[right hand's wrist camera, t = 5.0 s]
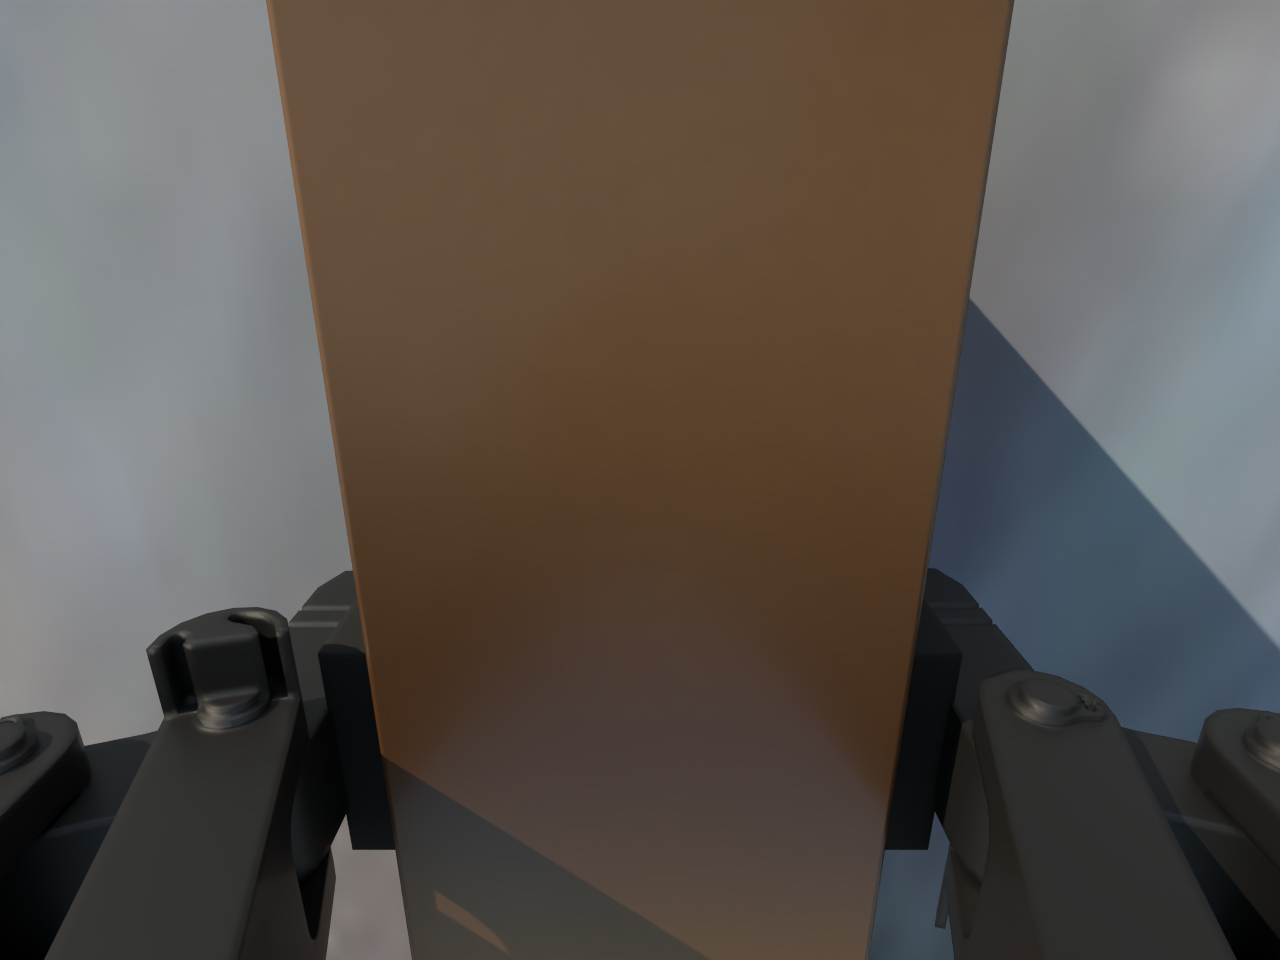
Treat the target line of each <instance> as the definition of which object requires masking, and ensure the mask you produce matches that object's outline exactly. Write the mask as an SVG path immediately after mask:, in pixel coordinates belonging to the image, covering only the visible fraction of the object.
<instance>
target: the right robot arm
mask: <svg viewBox="0 0 1280 960" xmlns="http://www.w3.org/2000/svg"><path fill="white" fill-rule="evenodd" d="M146 651H147V655H148V659H149V662H150V666H151V670H152V673H153V677H154V681H155V684H156V688H157V692H158V695H159V699H160V703H161V706H162V710H163V713H164V719H163V721H162V723H161V725H160V727H159V729H158V731H155V732H151V733H147V734H143V735H138V736H133V737H128V738H123V739H118V740H113V741H108V742H103V743H98V744H93V745H88V746H84V744H83V741H82V738H81V735H80V732H79V729H78V726H77V723H76V722H75V721H74V720H72V719H71V718H70V717H68V716H67V715H66V714H62V713H54V712H46V711H42V712H34V713H26V714H16V715H11V716H7V717H2V718H1V719H0V960H326V953H327V945H328V937H329V929H330V921H331V913H332V905H333V897H334V889H335V881H336V875H335V868H334V861H333V856H332V851H331V844H332V842H333V840H334V838H335V836H336V834H337V832H338V830H339V827H340V825H341V823H342V821H343V819H344V817H345V815H347V821H348V826H349V832H350V838H351V843H352V849H353V850H395V844H394V837H393V830H392V824H391V817H390V811H389V804H388V798H387V791H386V784H385V778H384V771H383V765H382V758H381V752H380V745H379V738H378V732H377V725H376V719H375V712H374V706H373V699H372V692H371V686H370V679H369V673H368V666H367V660H366V653H365V646H364V640H363V633H362V627H361V620H360V614H359V607H358V600H357V594H356V587H355V581H354V574H353V571H345V572H343V573H341V574H340V575H338V576H336V577H335V578H333V579H331V580H330V581H328V582H327V583H325V584H323V585H322V586H320V587H318V588H317V590H316V591H315V592H314V593H313V594H312V596H311V597H310V598H309V599H308V600H307V602H306V603H305V604H304V605H303V606H302V611H298V613H297V614H296V615H295V616H294V617H293V619H292V620H291V621H290V622H289V627H288V621H287V619H286V618H285V617H284V616H282V615H281V614H280V613H278V612H277V611H274V610H269V609H264V608H259V607H249V608H231V609H226V610H221V611H217V612H212V613H207V614H204V615H201V616H199V617H196V618H193V619H191V620H188V621H185V622H182V623H180V624H179V625H177V626H175V627H173V628H172V629H170V630H168V631H167V632H165V633H163V634H161V635H160V636H159V637H158V638H157V639H156V640H155V641H154V642H153V643H152V644H151V645H150V646H149V647H148V648H147V649H146ZM934 812H936V814H937V816H938V818H939V821H940V823H941V825H942V827H943V829H944V831H945V833H946V835H947V837H948V839H949V841H950V845H949V850H948V856H947V861H946V866H945V871H944V877H943V882H942V887H941V892H940V897H939V903H938V908H937V914H936V921H935V927H939V928H943V929H945V926H946V921H947V916H948V913H949V919H950V927H951V935H952V943H953V951H954V959H955V960H1280V714H1277V713H1273V712H1268V711H1259V710H1251V709H1243V708H1233V709H1225V710H1217V711H1216V712H1214V713H1213V714H1211V715H1210V716H1209V717H1207V718H1206V719H1205V722H1204V725H1203V728H1202V731H1201V734H1200V737H1199V740H1198V743H1195V742H1190V741H1185V740H1180V739H1175V738H1170V737H1165V736H1159V735H1154V734H1149V733H1144V732H1139V731H1135V730H1131V729H1127V728H1123V727H1121V726H1120V724H1119V722H1118V720H1117V718H1116V716H1115V715H1114V714H1113V712H1112V711H1111V710H1110V709H1109V708H1108V706H1107V705H1106V704H1105V703H1104V701H1103V700H1101V699H1100V698H1098V697H1097V696H1095V695H1094V694H1092V693H1091V692H1090V691H1088V690H1087V689H1085V688H1084V687H1082V686H1080V685H1077V684H1075V683H1073V682H1070V681H1068V680H1066V679H1063V678H1061V677H1059V676H1055V675H1050V674H1046V673H1042V672H1038V671H1034V670H1033V668H1032V667H1031V666H1030V665H1029V664H1028V662H1027V661H1026V660H1025V659H1024V658H1023V656H1022V655H1021V654H1020V653H1019V652H1018V651H1017V649H1016V648H1015V647H1014V646H1013V645H1012V643H1011V642H1010V641H1009V640H1008V639H1007V637H1006V636H1005V635H1004V634H1003V633H1002V631H1001V630H1000V629H999V628H998V627H997V625H996V624H992V619H991V618H990V617H989V616H988V615H987V614H986V612H985V611H984V610H983V609H982V608H979V604H978V603H977V602H976V600H975V599H974V598H973V597H972V596H971V594H970V593H969V592H968V591H967V590H966V588H965V587H964V586H963V585H962V584H960V583H958V582H957V581H955V580H953V579H952V578H950V577H948V576H947V575H945V574H943V573H942V572H940V571H939V570H937V569H927V576H926V583H925V589H924V596H923V602H922V609H921V615H920V622H919V629H918V635H917V642H916V648H915V655H914V661H913V668H912V674H911V681H910V688H909V694H908V701H907V707H906V714H905V720H904V727H903V733H902V740H901V747H900V753H899V760H898V766H897V773H896V779H895V786H894V793H893V799H892V806H891V812H890V819H889V825H888V832H887V838H886V845H885V850H928V846H929V840H930V835H931V829H932V823H933V818H934Z"/></svg>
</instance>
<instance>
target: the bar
mask: <svg viewBox="0 0 1280 960" xmlns="http://www.w3.org/2000/svg"><path fill="white" fill-rule="evenodd" d="M266 2H267V9H268V15H269V22H270V29H271V35H272V42H273V48H274V55H275V61H276V68H277V75H278V81H279V88H280V94H281V101H282V107H283V114H284V121H285V127H286V134H287V140H288V147H289V153H290V160H291V167H292V173H293V180H294V186H295V193H296V199H297V206H298V213H299V219H300V226H301V232H302V239H303V245H304V252H305V259H306V265H307V272H308V278H309V285H310V291H311V298H312V305H313V311H314V318H315V324H316V331H317V337H318V344H319V351H320V357H321V364H322V370H323V377H324V383H325V390H326V397H327V403H328V410H329V416H330V423H331V430H332V436H333V443H334V449H335V456H336V462H337V469H338V476H339V482H340V489H341V495H342V502H343V508H344V515H345V522H346V528H347V535H348V541H349V548H350V554H351V561H352V568H353V574H354V581H355V587H356V594H357V600H358V607H359V614H360V620H361V627H362V633H363V640H364V646H365V653H366V660H367V666H368V673H369V679H370V686H371V692H372V699H373V706H374V712H375V719H376V725H377V732H378V738H379V745H380V752H381V758H382V765H383V771H384V778H385V784H386V791H387V798H388V804H389V811H390V817H391V824H392V830H393V837H394V844H395V850H396V857H397V863H398V870H399V876H400V883H401V890H402V896H403V903H404V909H405V916H406V922H407V929H408V936H409V942H410V949H411V955H412V960H868V957H869V950H870V943H871V937H872V930H873V924H874V917H875V911H876V904H877V897H878V891H879V884H880V878H881V871H882V865H883V858H884V852H885V845H886V838H887V832H888V825H889V819H890V812H891V806H892V799H893V793H894V786H895V779H896V773H897V766H898V760H899V753H900V747H901V740H902V733H903V727H904V720H905V714H906V707H907V701H908V694H909V688H910V681H911V674H912V668H913V661H914V655H915V648H916V642H917V635H918V629H919V622H920V615H921V609H922V602H923V596H924V589H925V583H926V576H927V569H928V563H929V556H930V550H931V543H932V537H933V530H934V524H935V517H936V510H937V504H938V497H939V491H940V484H941V478H942V471H943V465H944V458H945V451H946V445H947V438H948V432H949V425H950V419H951V412H952V405H953V399H954V392H955V386H956V379H957V373H958V366H959V360H960V353H961V346H962V340H963V333H964V327H965V320H966V314H967V307H968V301H969V294H970V287H971V281H972V274H973V268H974V261H975V255H976V248H977V241H978V235H979V228H980V222H981V215H982V209H983V202H984V196H985V189H986V182H987V176H988V169H989V163H990V156H991V150H992V143H993V137H994V130H995V123H996V117H997V110H998V104H999V97H1000V91H1001V84H1002V77H1003V71H1004V64H1005V58H1006V51H1007V45H1008V38H1009V32H1010V25H1011V18H1012V12H1013V5H1014V0H266Z"/></svg>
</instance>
